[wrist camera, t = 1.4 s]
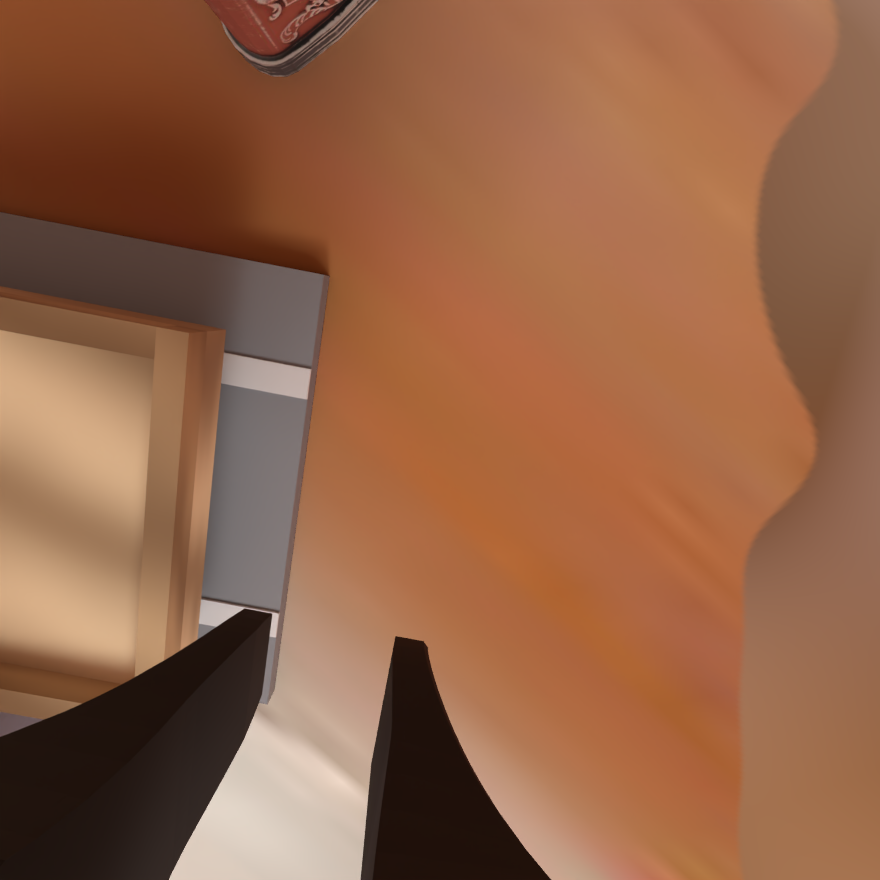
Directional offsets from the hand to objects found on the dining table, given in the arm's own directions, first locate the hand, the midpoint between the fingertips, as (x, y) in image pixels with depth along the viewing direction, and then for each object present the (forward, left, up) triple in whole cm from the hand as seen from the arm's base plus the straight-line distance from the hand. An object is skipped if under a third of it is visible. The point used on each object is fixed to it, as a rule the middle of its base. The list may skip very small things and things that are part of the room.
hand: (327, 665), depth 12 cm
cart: (0, +12, -7) cm, 14 cm away
